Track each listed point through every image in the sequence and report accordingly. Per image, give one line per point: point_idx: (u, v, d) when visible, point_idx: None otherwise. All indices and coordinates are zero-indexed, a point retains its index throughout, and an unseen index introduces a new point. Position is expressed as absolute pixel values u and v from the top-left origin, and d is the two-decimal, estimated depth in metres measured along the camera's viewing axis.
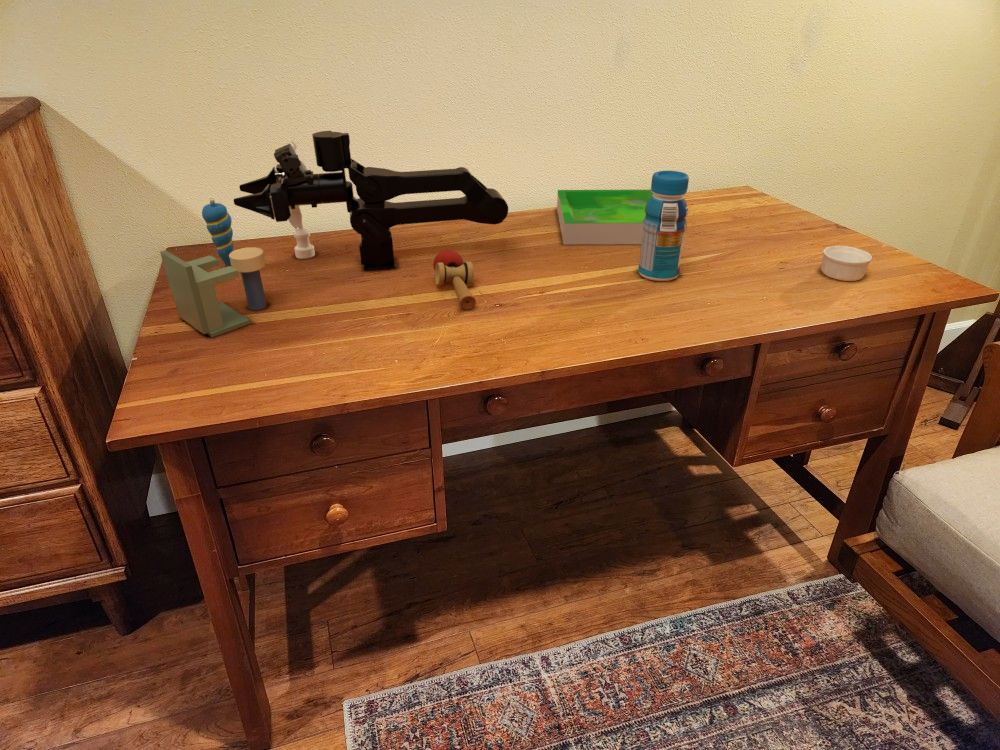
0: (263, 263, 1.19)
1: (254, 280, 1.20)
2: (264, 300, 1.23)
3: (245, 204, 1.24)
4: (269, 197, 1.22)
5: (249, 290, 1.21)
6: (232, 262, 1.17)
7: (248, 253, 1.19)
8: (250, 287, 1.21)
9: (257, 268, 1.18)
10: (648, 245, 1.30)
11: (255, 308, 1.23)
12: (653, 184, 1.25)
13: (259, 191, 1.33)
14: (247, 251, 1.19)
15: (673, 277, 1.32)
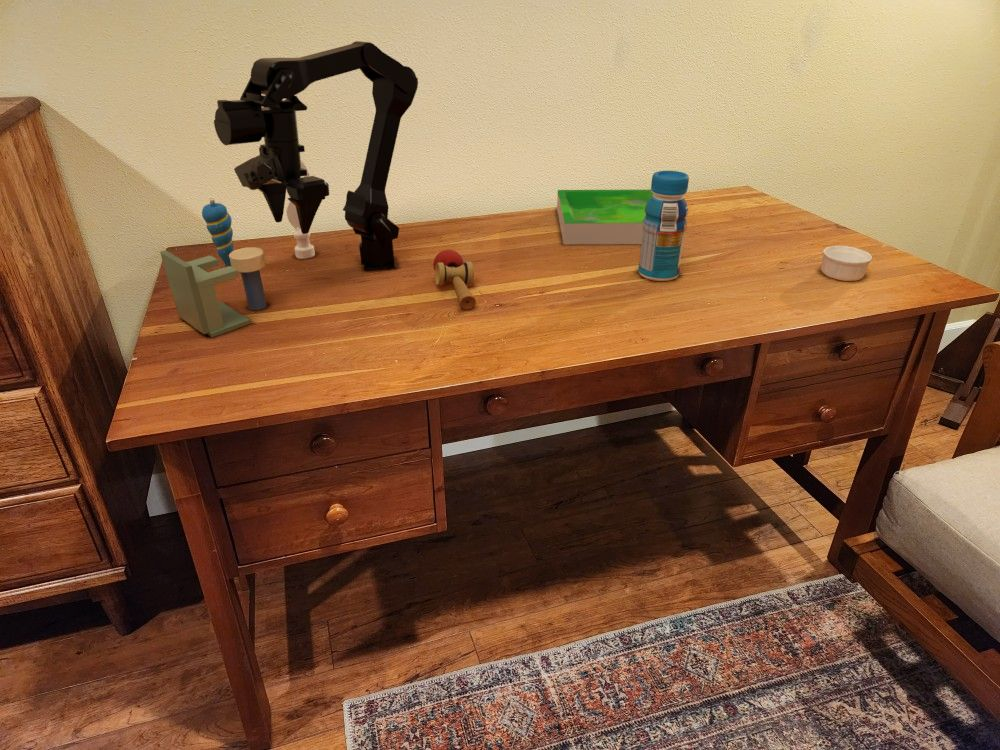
0: (263, 263, 1.19)
1: (254, 280, 1.20)
2: (264, 300, 1.23)
3: (308, 223, 1.20)
4: (305, 200, 1.15)
5: (249, 290, 1.21)
6: (232, 262, 1.17)
7: (248, 253, 1.19)
8: (250, 287, 1.21)
9: (257, 268, 1.18)
10: (648, 245, 1.30)
11: (255, 308, 1.23)
12: (653, 184, 1.25)
13: (280, 202, 1.25)
14: (247, 251, 1.19)
15: (673, 277, 1.32)
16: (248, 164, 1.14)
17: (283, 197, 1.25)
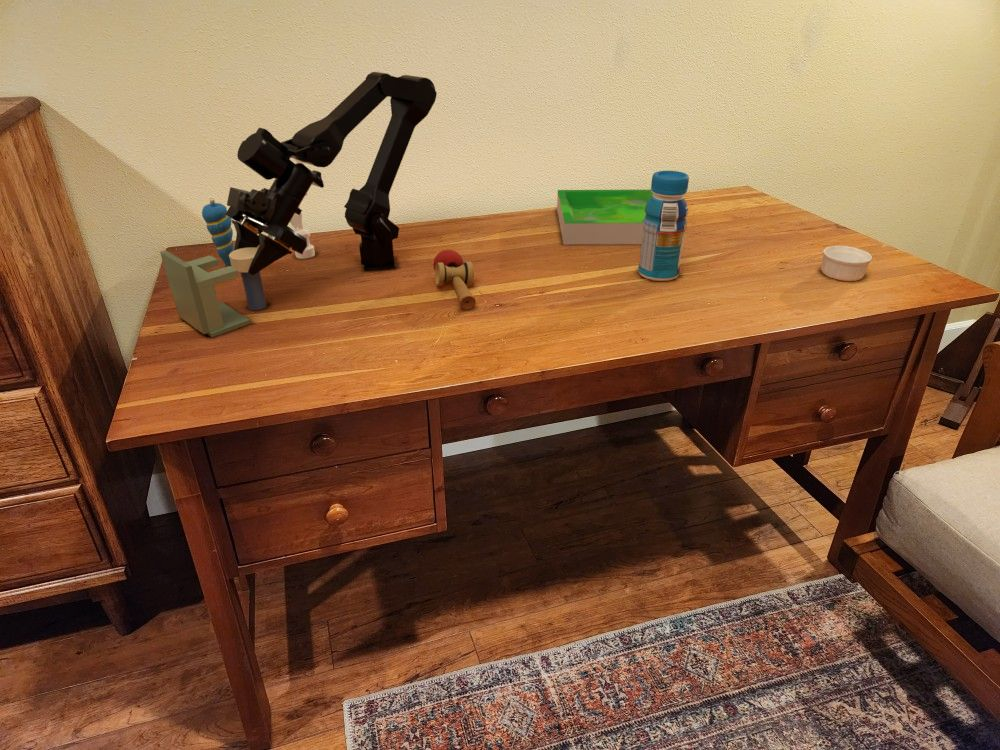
0: None
1: (254, 280, 1.20)
2: (264, 300, 1.23)
3: (260, 266, 1.18)
4: (274, 241, 1.15)
5: (249, 290, 1.21)
6: (232, 262, 1.17)
7: (248, 253, 1.19)
8: (250, 287, 1.21)
9: None
10: (648, 245, 1.30)
11: (255, 308, 1.23)
12: (653, 184, 1.25)
13: None
14: (247, 251, 1.19)
15: (673, 277, 1.32)
16: (245, 191, 1.15)
17: None
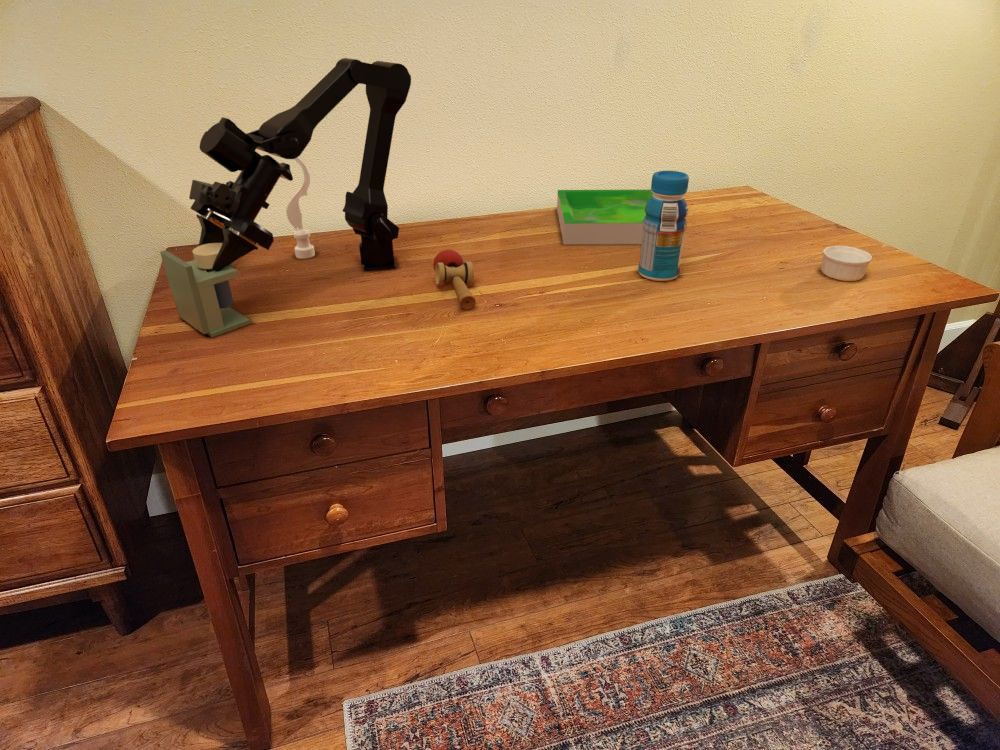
0: None
1: None
2: (231, 298, 1.19)
3: (224, 262, 1.13)
4: (239, 236, 1.10)
5: None
6: (195, 258, 1.12)
7: (213, 249, 1.14)
8: (215, 284, 1.16)
9: None
10: (648, 245, 1.30)
11: (221, 306, 1.18)
12: (653, 184, 1.25)
13: None
14: (212, 247, 1.15)
15: (673, 277, 1.32)
16: (209, 184, 1.10)
17: None
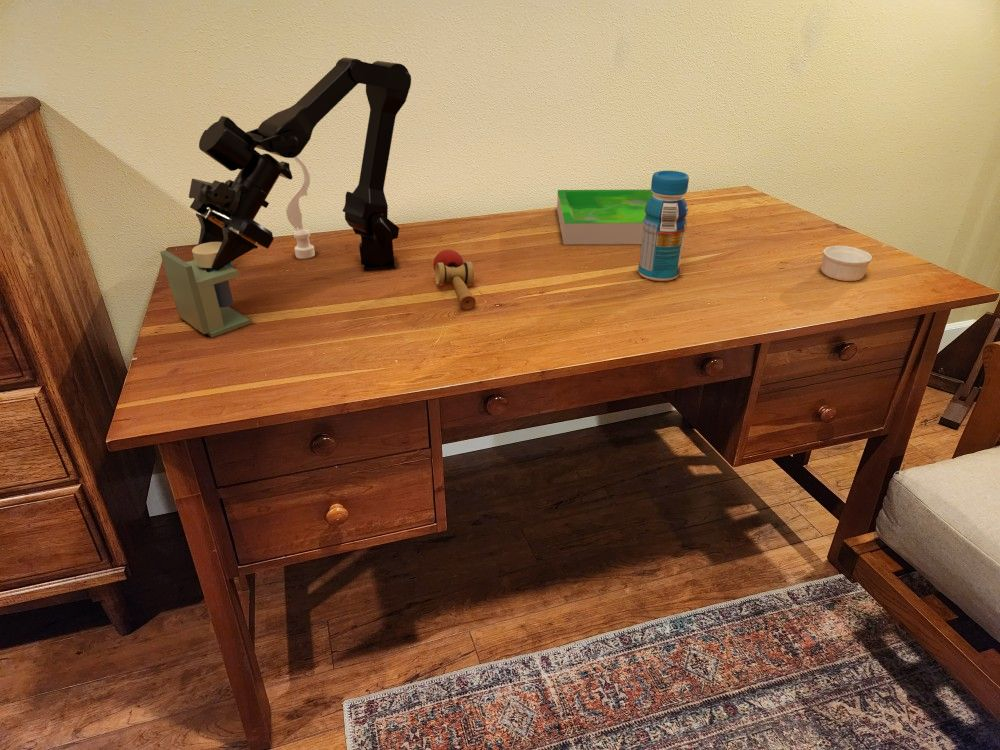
0: None
1: None
2: (230, 297, 1.18)
3: (224, 261, 1.12)
4: (238, 235, 1.10)
5: (214, 286, 1.16)
6: (195, 257, 1.12)
7: (212, 248, 1.14)
8: None
9: None
10: (648, 245, 1.30)
11: (221, 305, 1.18)
12: (653, 184, 1.25)
13: None
14: (211, 246, 1.14)
15: (673, 277, 1.32)
16: (208, 183, 1.10)
17: None
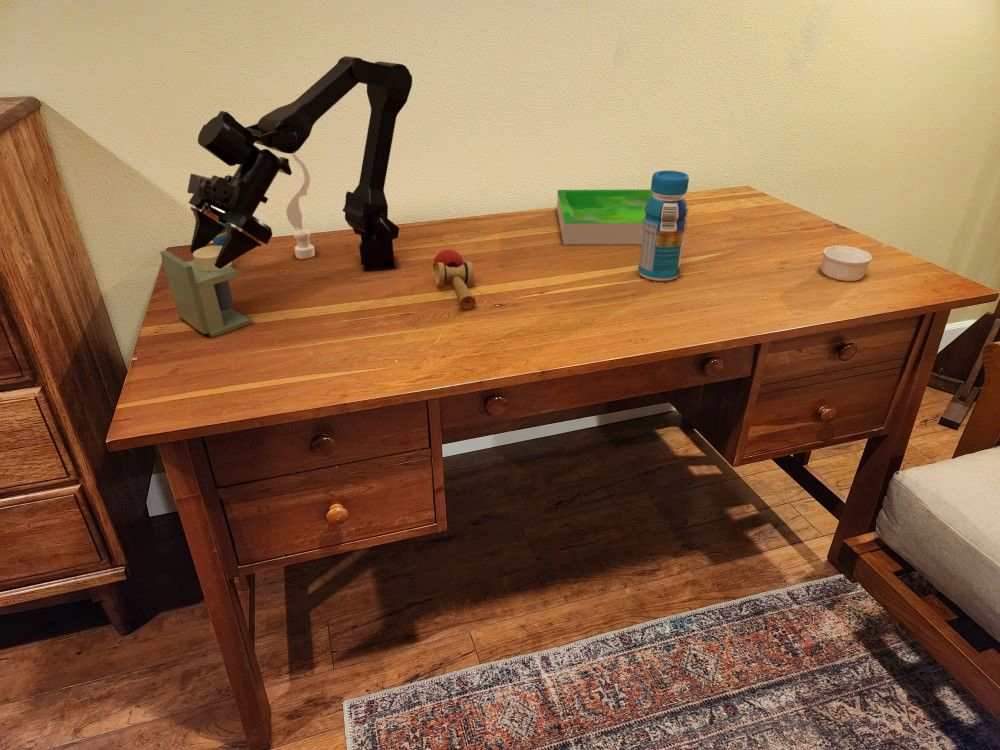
0: None
1: None
2: (231, 300, 1.19)
3: (227, 259, 1.11)
4: (242, 232, 1.08)
5: None
6: (196, 261, 1.13)
7: (213, 251, 1.14)
8: (215, 286, 1.16)
9: None
10: (648, 245, 1.30)
11: (221, 309, 1.18)
12: (653, 184, 1.25)
13: (207, 238, 1.18)
14: (212, 249, 1.15)
15: (673, 277, 1.32)
16: (207, 178, 1.10)
17: (212, 236, 1.18)
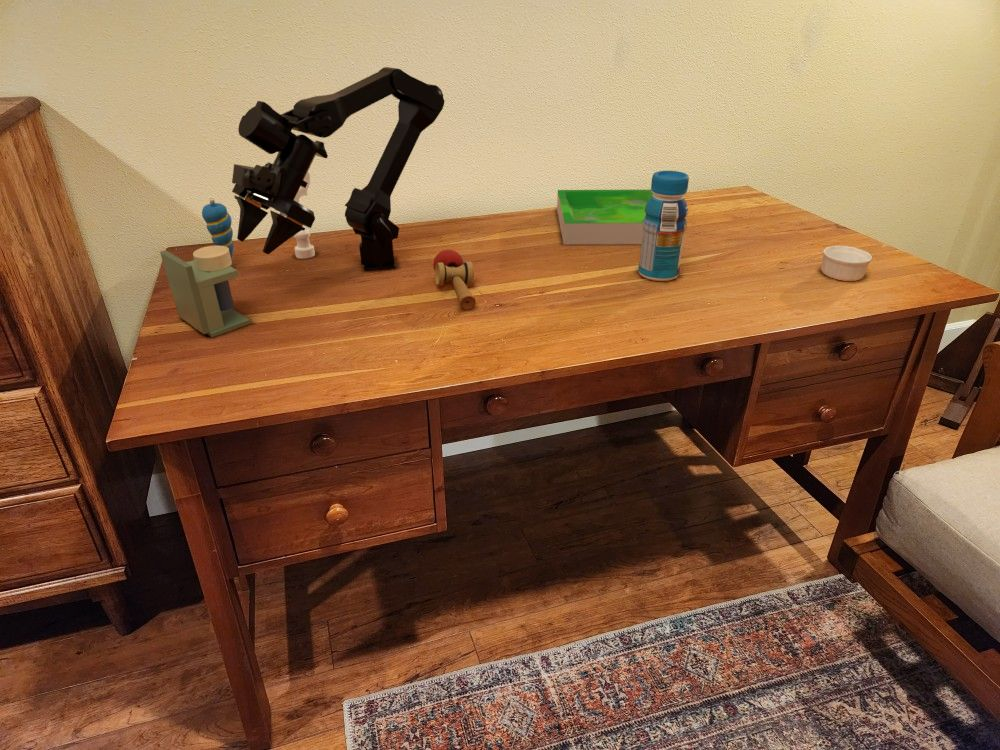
0: (228, 262, 1.15)
1: None
2: (231, 300, 1.19)
3: (274, 245, 1.16)
4: (287, 218, 1.13)
5: None
6: (196, 261, 1.13)
7: (213, 251, 1.14)
8: (215, 286, 1.16)
9: (222, 267, 1.14)
10: (648, 245, 1.30)
11: (221, 309, 1.18)
12: (653, 184, 1.25)
13: (252, 225, 1.23)
14: (212, 249, 1.15)
15: (673, 277, 1.32)
16: (250, 167, 1.14)
17: (257, 222, 1.23)
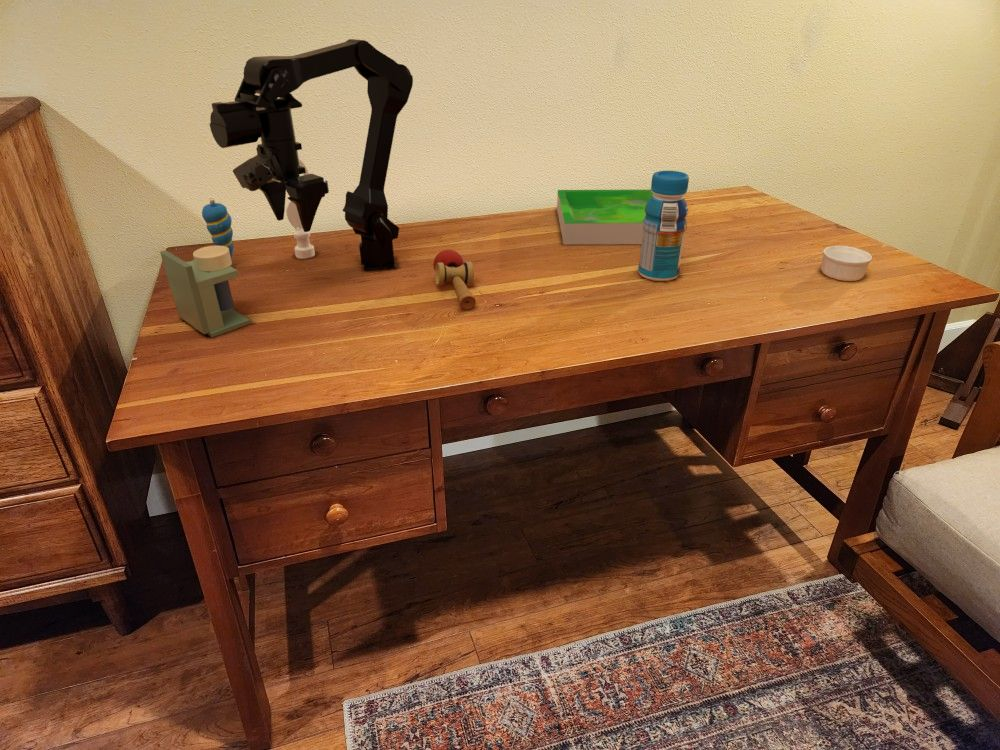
0: (228, 262, 1.15)
1: None
2: (231, 300, 1.19)
3: (309, 221, 1.20)
4: (304, 199, 1.14)
5: None
6: (196, 261, 1.13)
7: (213, 251, 1.14)
8: (215, 286, 1.16)
9: (222, 267, 1.14)
10: (648, 245, 1.30)
11: (221, 309, 1.18)
12: (653, 184, 1.25)
13: (281, 200, 1.25)
14: (212, 249, 1.15)
15: (673, 277, 1.32)
16: (246, 165, 1.14)
17: (283, 195, 1.25)
